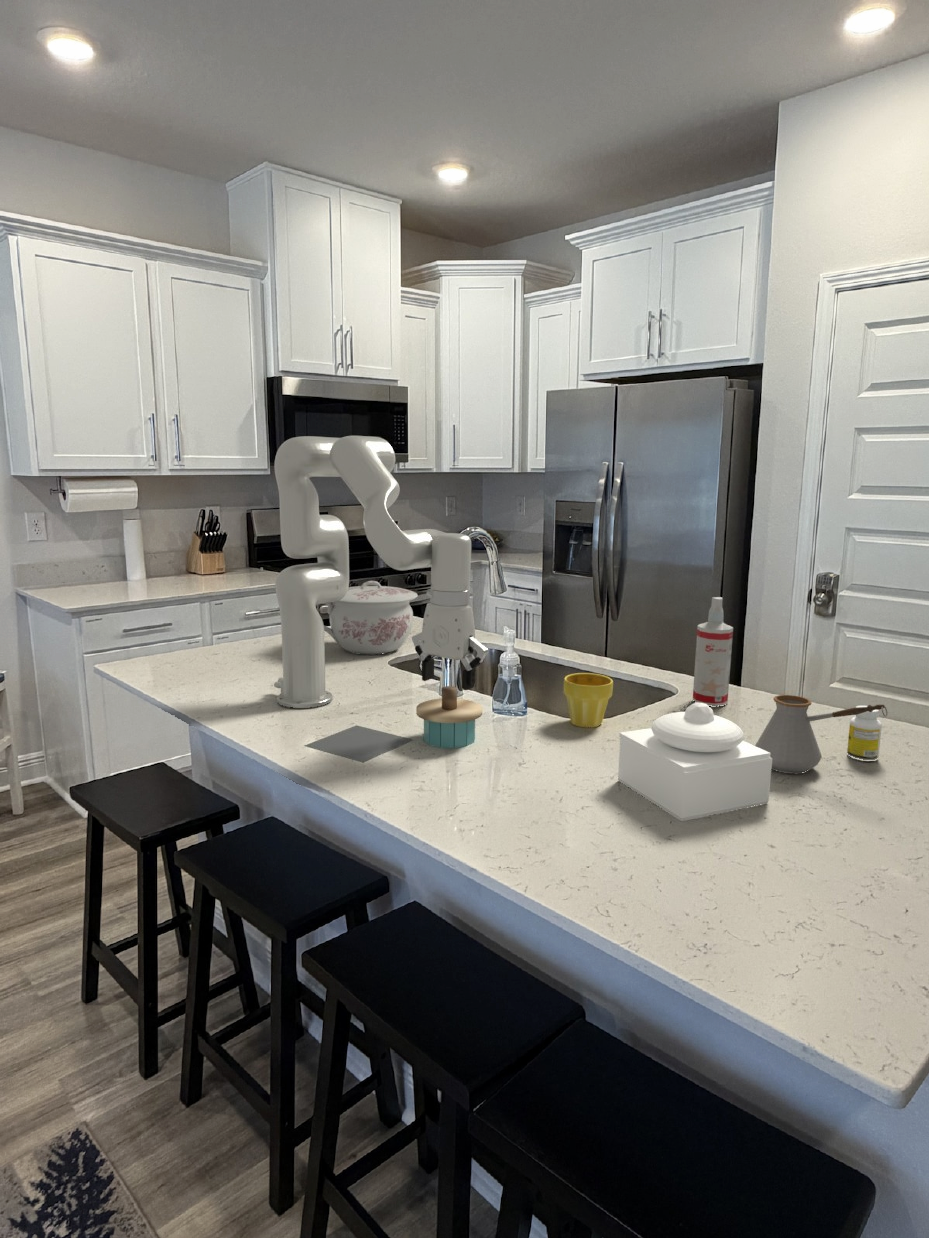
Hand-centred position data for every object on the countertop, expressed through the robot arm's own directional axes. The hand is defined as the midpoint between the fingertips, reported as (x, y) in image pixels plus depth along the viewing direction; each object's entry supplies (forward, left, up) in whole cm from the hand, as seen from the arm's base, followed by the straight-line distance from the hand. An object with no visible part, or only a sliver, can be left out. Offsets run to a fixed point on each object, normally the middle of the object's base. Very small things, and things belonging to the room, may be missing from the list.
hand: (447, 683), depth 156 cm
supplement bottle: (+70, +39, -12) cm, 81 cm away
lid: (0, 0, -6) cm, 6 cm away
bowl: (+1, 0, -12) cm, 12 cm away
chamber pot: (-64, +52, -12) cm, 84 cm away
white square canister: (+48, +4, -12) cm, 50 cm away
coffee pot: (+64, +25, -12) cm, 69 cm away
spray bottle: (+35, +58, -12) cm, 68 cm away
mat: (-12, -12, -12) cm, 21 cm away
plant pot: (+18, +27, -12) cm, 34 cm away
